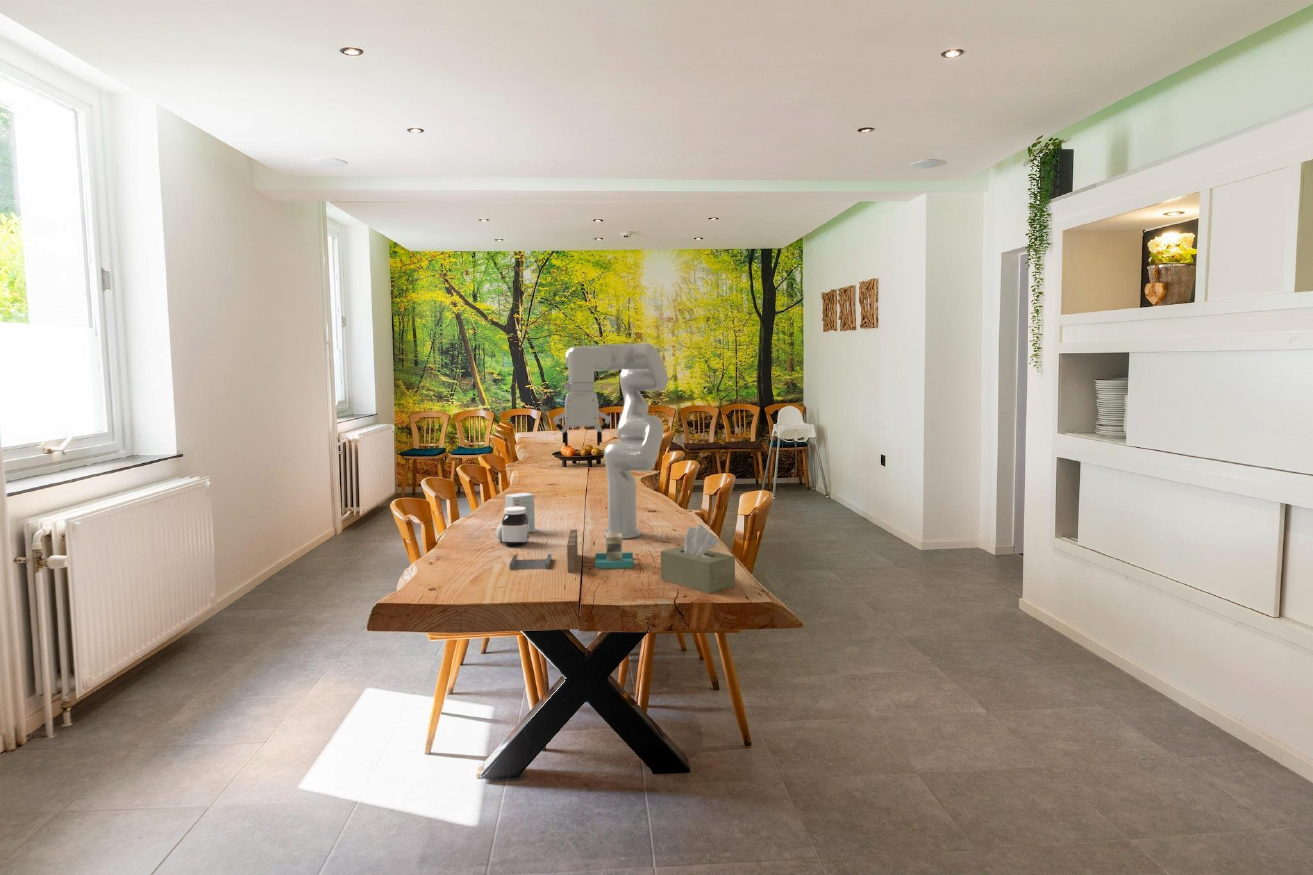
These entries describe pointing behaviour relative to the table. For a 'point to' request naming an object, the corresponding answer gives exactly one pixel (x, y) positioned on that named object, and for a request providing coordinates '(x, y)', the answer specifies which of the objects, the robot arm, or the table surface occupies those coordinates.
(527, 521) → the spread jar
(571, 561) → the door panel
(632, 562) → the teal square tray
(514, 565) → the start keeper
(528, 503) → the small box
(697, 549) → the tissue box
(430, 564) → the table surface
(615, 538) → the block
